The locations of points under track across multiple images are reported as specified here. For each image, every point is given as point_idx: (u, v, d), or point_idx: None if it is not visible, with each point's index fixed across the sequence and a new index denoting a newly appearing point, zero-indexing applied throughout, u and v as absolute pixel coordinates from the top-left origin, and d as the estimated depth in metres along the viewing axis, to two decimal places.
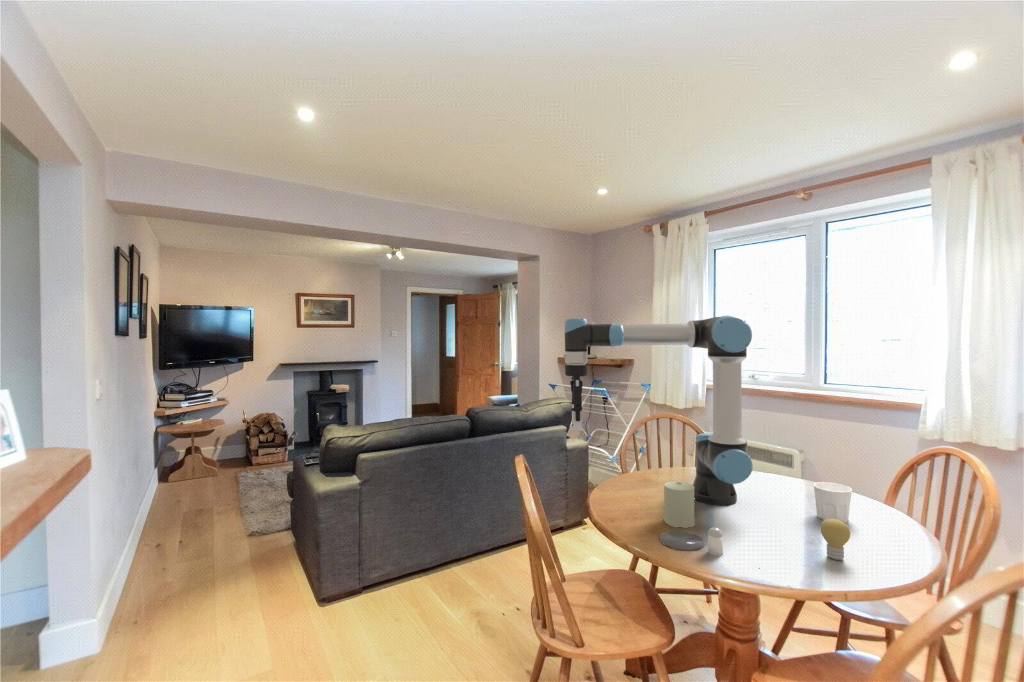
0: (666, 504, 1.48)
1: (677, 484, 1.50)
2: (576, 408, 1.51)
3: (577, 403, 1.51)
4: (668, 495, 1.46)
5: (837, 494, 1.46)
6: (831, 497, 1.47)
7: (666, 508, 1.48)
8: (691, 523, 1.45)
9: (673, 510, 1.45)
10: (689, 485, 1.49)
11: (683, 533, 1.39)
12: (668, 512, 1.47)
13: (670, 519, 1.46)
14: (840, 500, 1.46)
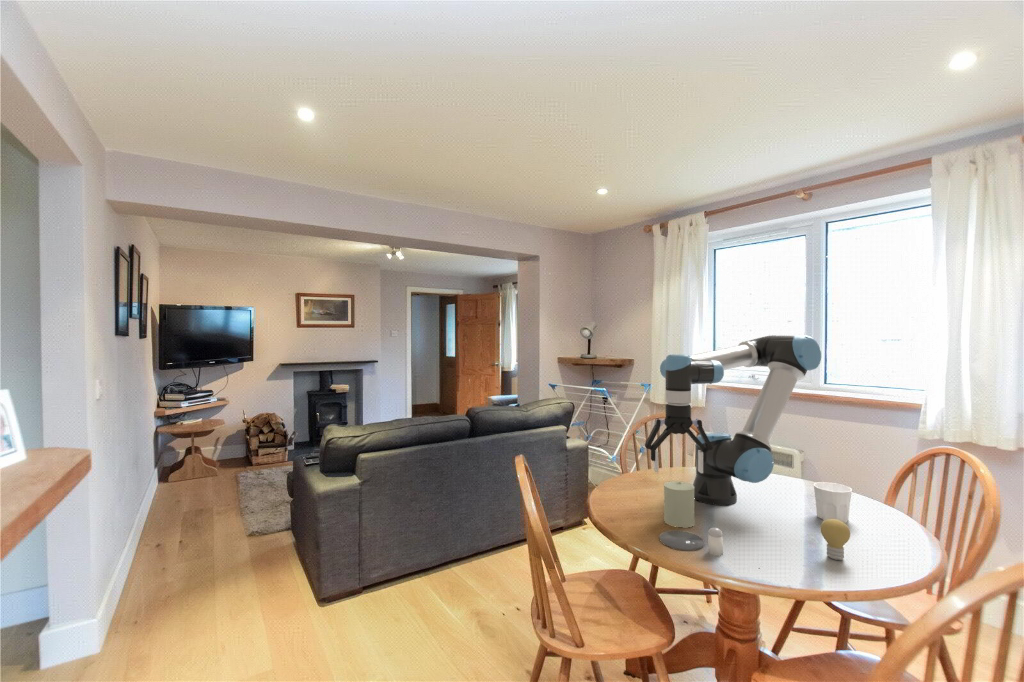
0: (666, 504, 1.48)
1: (677, 484, 1.50)
2: (645, 446, 1.50)
3: (647, 441, 1.49)
4: (668, 495, 1.46)
5: (837, 494, 1.46)
6: (831, 497, 1.47)
7: (666, 508, 1.48)
8: (691, 523, 1.45)
9: (673, 510, 1.45)
10: (689, 485, 1.49)
11: (683, 533, 1.39)
12: (668, 512, 1.47)
13: (670, 519, 1.46)
14: (840, 500, 1.46)
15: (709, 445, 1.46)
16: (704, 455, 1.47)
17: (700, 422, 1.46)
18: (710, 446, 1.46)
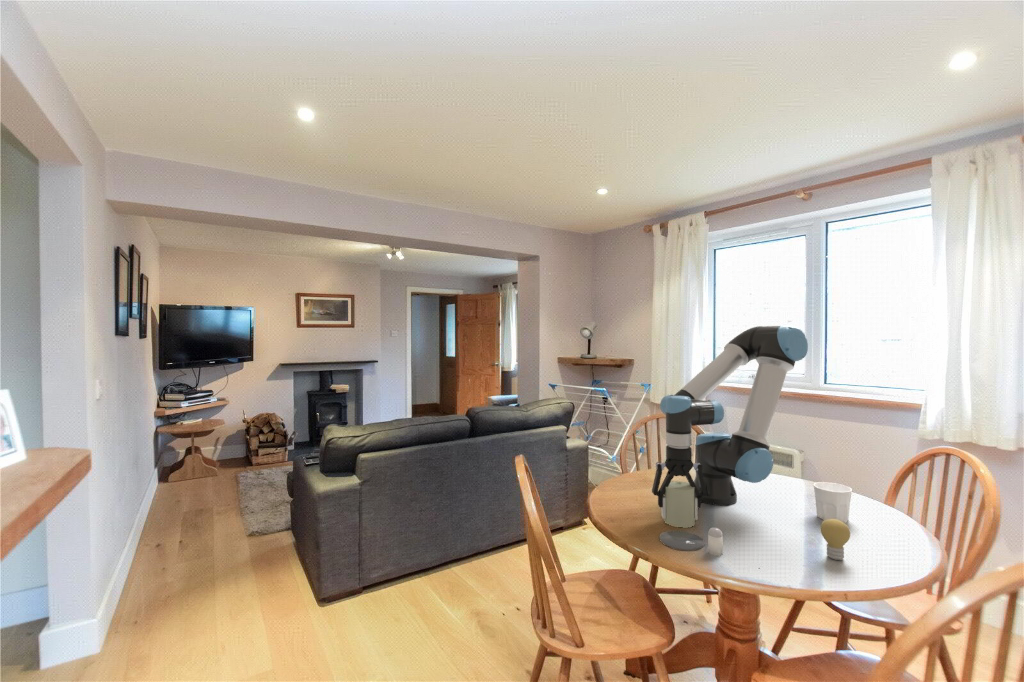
0: (666, 504, 1.48)
1: (677, 484, 1.50)
2: (652, 492, 1.50)
3: (653, 487, 1.49)
4: (668, 495, 1.46)
5: (837, 494, 1.46)
6: (831, 497, 1.47)
7: (666, 508, 1.48)
8: (691, 523, 1.45)
9: (673, 509, 1.45)
10: (689, 485, 1.49)
11: (683, 533, 1.39)
12: (668, 512, 1.47)
13: (670, 519, 1.46)
14: (840, 500, 1.46)
15: (704, 491, 1.47)
16: (698, 501, 1.47)
17: (701, 467, 1.47)
18: (705, 492, 1.47)
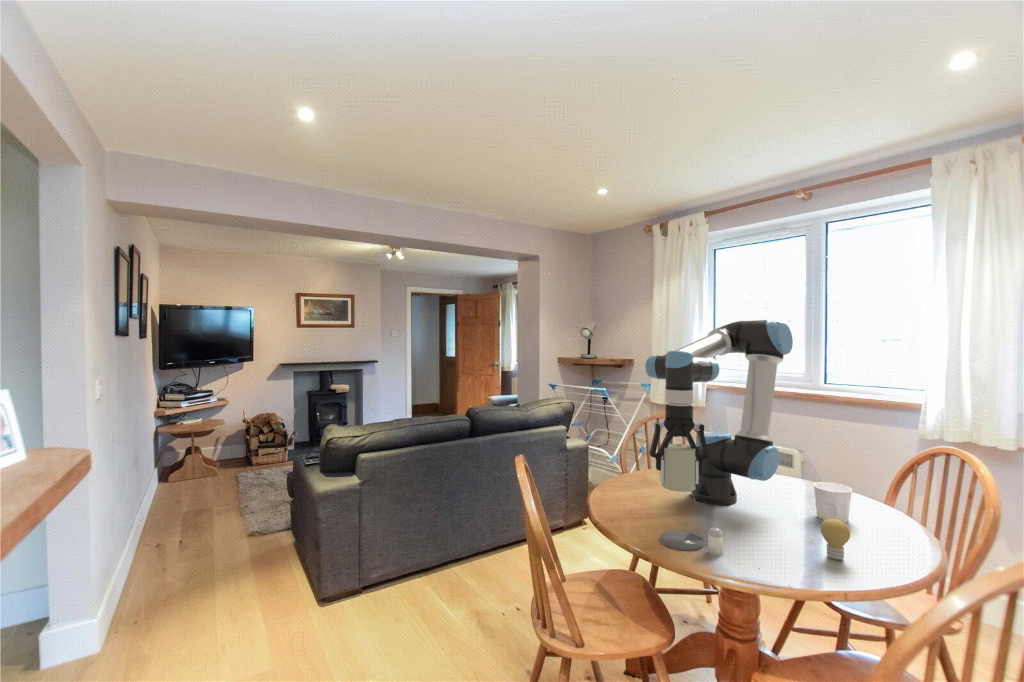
0: (664, 467, 1.36)
1: (677, 446, 1.39)
2: (650, 454, 1.38)
3: (650, 449, 1.38)
4: (667, 457, 1.35)
5: (837, 494, 1.46)
6: (831, 497, 1.47)
7: (664, 471, 1.36)
8: (691, 487, 1.33)
9: (671, 472, 1.34)
10: (690, 447, 1.37)
11: (683, 533, 1.39)
12: (666, 475, 1.35)
13: (668, 483, 1.35)
14: (840, 500, 1.46)
15: (706, 453, 1.35)
16: (700, 464, 1.36)
17: (702, 427, 1.35)
18: (706, 455, 1.35)
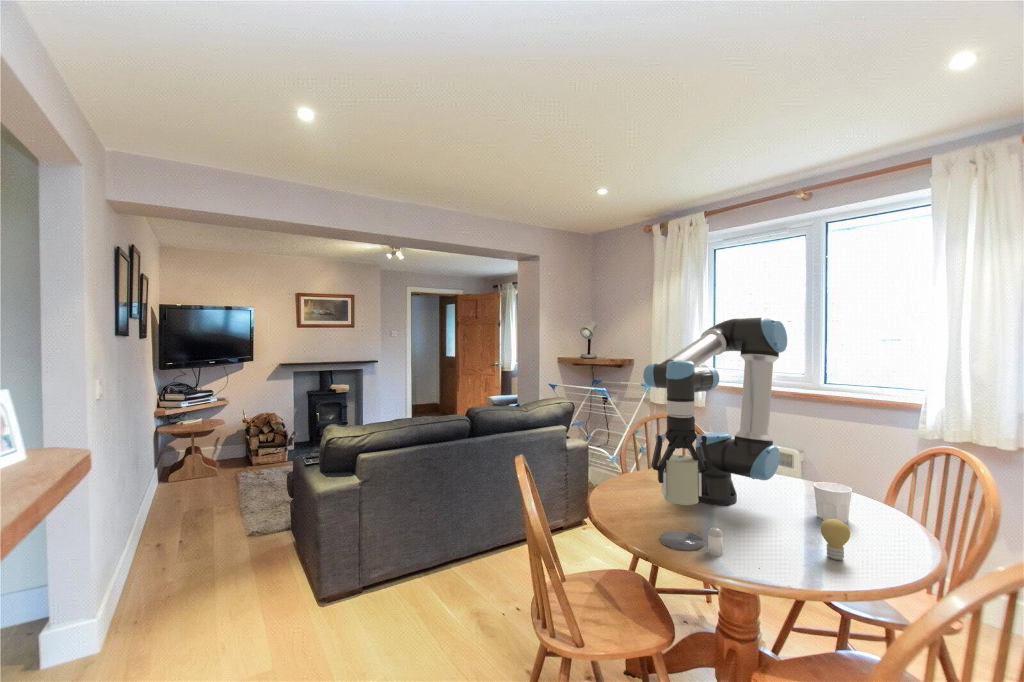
0: (667, 479, 1.34)
1: (679, 458, 1.36)
2: (652, 466, 1.36)
3: (652, 461, 1.35)
4: (669, 469, 1.33)
5: (837, 494, 1.46)
6: (831, 497, 1.47)
7: (667, 484, 1.34)
8: (694, 500, 1.31)
9: (674, 485, 1.31)
10: (692, 458, 1.35)
11: (683, 533, 1.39)
12: (669, 488, 1.33)
13: (671, 496, 1.32)
14: (840, 500, 1.46)
15: (708, 465, 1.33)
16: (702, 476, 1.34)
17: (705, 438, 1.33)
18: (709, 466, 1.33)
